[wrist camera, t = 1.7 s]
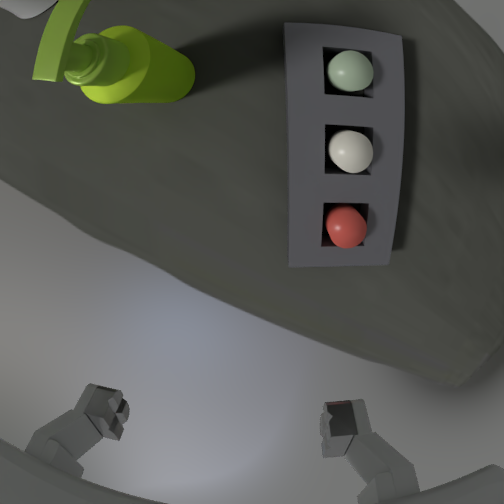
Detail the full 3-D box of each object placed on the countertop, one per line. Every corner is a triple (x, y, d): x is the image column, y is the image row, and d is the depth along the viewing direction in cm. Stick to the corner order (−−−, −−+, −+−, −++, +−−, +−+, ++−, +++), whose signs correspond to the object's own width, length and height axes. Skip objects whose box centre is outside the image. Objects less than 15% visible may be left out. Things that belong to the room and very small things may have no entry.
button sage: (324, 54, 24) (331, 48, 21) (363, 57, 24) (372, 53, 21) (326, 90, 26) (332, 88, 23) (364, 93, 25) (374, 92, 23)
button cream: (326, 128, 27) (333, 130, 25) (364, 130, 27) (373, 133, 25) (326, 166, 29) (332, 172, 27) (362, 167, 29) (372, 173, 26)
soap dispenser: (206, 50, 25) (122, -19, 8) (185, 108, 28) (75, 117, 11) (156, 40, 25) (37, -11, 7) (137, 96, 28) (2, 105, 10)
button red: (325, 202, 31) (330, 212, 28) (360, 203, 31) (368, 212, 28) (323, 236, 33) (328, 248, 30) (357, 236, 33) (364, 248, 30)
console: (282, 30, 24) (284, 22, 21) (390, 40, 23) (401, 35, 21) (287, 254, 36) (288, 267, 33) (380, 253, 35) (388, 264, 32)
